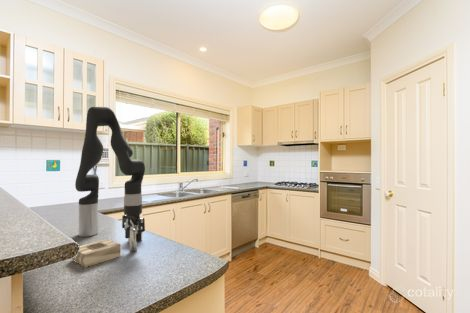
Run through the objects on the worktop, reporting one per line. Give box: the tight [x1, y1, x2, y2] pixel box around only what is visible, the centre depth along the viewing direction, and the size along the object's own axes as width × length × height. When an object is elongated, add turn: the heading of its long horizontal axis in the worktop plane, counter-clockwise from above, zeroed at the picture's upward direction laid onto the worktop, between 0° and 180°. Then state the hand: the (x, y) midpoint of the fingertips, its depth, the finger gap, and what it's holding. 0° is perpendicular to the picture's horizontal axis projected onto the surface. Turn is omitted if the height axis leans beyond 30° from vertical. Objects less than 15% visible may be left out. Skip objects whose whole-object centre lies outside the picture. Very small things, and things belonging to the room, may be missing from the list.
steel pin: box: [129, 229, 138, 254], centre depth 109 cm, size 3×3×10 cm
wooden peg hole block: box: [71, 238, 122, 268], centre depth 102 cm, size 12×14×5 cm
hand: (133, 239), depth 109 cm, fingers open, 8 cm apart
